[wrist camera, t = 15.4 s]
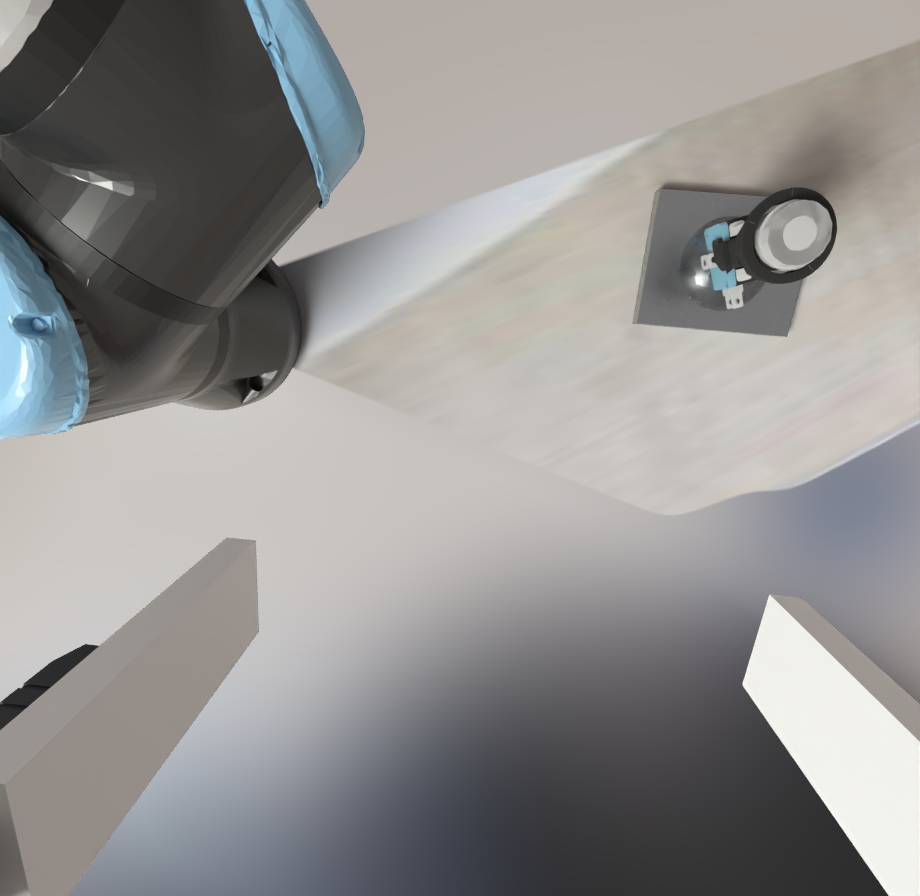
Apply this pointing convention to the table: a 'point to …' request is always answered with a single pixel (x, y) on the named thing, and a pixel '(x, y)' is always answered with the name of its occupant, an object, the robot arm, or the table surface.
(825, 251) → the push button
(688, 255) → the flange plate
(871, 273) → the table surface
